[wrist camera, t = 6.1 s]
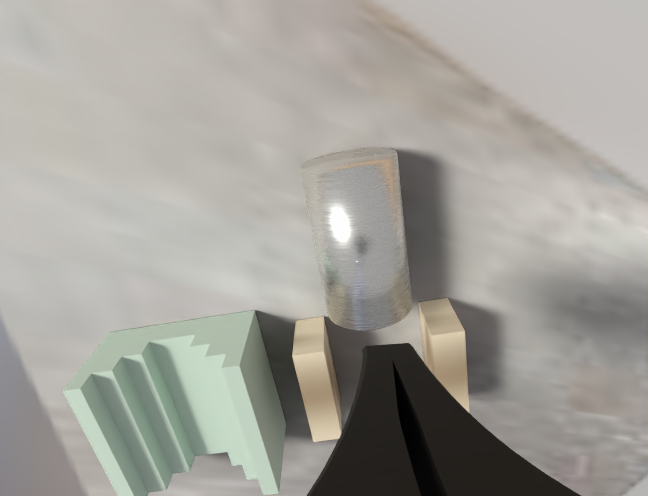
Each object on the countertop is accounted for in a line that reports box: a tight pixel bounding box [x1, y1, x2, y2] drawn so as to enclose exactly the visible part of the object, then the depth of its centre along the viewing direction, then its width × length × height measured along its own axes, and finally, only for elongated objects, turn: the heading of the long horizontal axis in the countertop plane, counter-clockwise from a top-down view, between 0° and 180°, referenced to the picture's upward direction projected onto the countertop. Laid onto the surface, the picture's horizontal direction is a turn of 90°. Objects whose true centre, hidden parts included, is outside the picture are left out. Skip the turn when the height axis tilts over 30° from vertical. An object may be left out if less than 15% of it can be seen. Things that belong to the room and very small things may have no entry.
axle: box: [300, 148, 412, 331], centre depth 19 cm, size 7×4×4 cm, turn 10°
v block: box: [63, 310, 286, 496], centre depth 22 cm, size 8×8×4 cm
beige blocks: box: [292, 298, 469, 442], centre depth 22 cm, size 6×8×3 cm
